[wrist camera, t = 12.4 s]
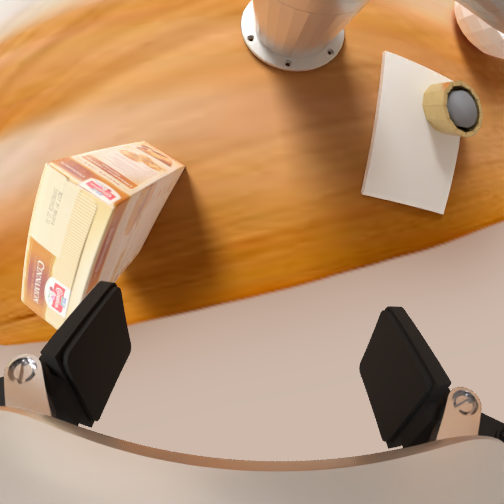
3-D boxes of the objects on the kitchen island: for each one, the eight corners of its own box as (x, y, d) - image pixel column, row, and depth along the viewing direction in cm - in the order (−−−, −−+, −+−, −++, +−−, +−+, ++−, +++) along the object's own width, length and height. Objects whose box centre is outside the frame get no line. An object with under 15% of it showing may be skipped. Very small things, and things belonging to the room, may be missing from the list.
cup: (474, 71, 26) (515, 68, 17) (428, 5, 22) (464, -13, 13) (503, 48, 22) (539, 45, 13) (463, -11, 18) (496, -25, 10)
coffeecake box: (143, 139, 33) (44, 159, 15) (187, 166, 34) (117, 208, 16) (101, 230, 38) (18, 301, 20) (139, 255, 40) (72, 342, 22)
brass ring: (425, 76, 27) (445, 72, 22) (462, 95, 27) (484, 94, 22) (419, 123, 30) (440, 125, 25) (457, 140, 30) (478, 144, 25)
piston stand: (382, 52, 27) (402, 41, 21) (461, 88, 27) (486, 87, 22) (360, 192, 35) (377, 205, 30) (439, 212, 36) (462, 226, 30)
